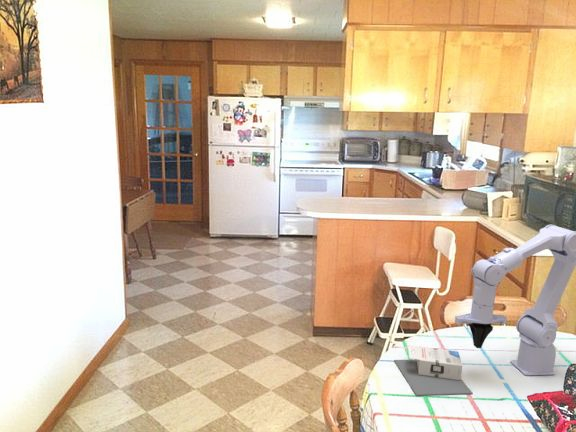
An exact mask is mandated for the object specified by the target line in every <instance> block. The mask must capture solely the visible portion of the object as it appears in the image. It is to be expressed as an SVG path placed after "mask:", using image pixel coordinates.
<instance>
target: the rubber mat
mask: <svg viewBox="0 0 576 432" xmlns="http://www.w3.org/2000/svg"><path fill="white" fill-rule="evenodd" d="M393 362H394V364H395V365H396V366H397V368H398V370H399V372H400V373H401V374H402V376H403V378H404V379H405V381H406V383H407V384H408V385H409V387H410V389H411V391H412V392H413V394H414V395H415V396H416V397H426V396H427V397H428V396H456V395H457V396H458V395H462V396H463V395H473V394H474V393H473V391H472V390H471V389H470V388H469V387H468V386H467V384H466V383H465V382H464V380H462V379H461V380H454V379H447V378H440V377H433V376H426V375H419V374H418V365H417V360H415V359H394V360H393Z"/></svg>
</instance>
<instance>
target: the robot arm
mask: <svg viewBox="0 0 576 432" xmlns="http://www.w3.org/2000/svg"><path fill="white" fill-rule="evenodd" d="M545 250H549V251H550V253H551V254H552V255H553V258H554V261H553V263H552V266H551V268H550V270H549V273H548V274H547V277H546V279H545V281H544V284H543V286H542V288H541V291H540V292H539V294H538V296H537V297H538V298H537V299H536V302H535V304H534V307H531V308H528V309H525V310H524V312H523V314H522V315H521V317H519V318H518V320H517V322H516V325H515V326H516V327H515V329H516V331H517V332H518V333H519V335H518V336H519V337H520V340H519V346H518V347H519V348H518V354H517V359H511V360H510V361H509V362H510V363H511V364H512V365H513V366H514V367H515V368H516V369H518V370H519V371H520V372H521V374H523V375H524V376H552V375H553V376H554V375H555V372H554V369H555V360H556V357H557V352H556V351H557V350H556V347H555V345H554V344H553V343H554V342H555V341H556V338H557V331H558V328H559V323H558V322H557V320H556V319H555V316H554V315H555V313H556V311H557V308H558V305H559V303H560V301H561V299H562V297H563V295H564V293H565V290H566V288H567V286H568V283H569V282H570V279H571V277H572V275H573V273H574V270H575V268H576V230H571V229H568V228H565V227H560V226H557V225H556V224H547V225H545V227H542V228H540V229H539V231H538V234H537V235H535V236H533V237H532V238H530V239H529V240H527V241H526V242H524V243H523V244H521V245H519V246H518V247H516V248H513V247H505V248H503V249H502V251H500V252H498V253H497V254H495V255H492V256H490V257H489V258H487V259H483V258H482V259H479V260H477V261H476V262H475V263H474V264H473V267H471V270H470V273H471V275H472V276H473V283H474V284H473V285H474V286H473V293H472V301H471V309H470V313H466V314H461V315H455V317H454V323H455V324H456V325H458V326H461V325H464V324H465V325H466V324H467V325H468V326H469V329H470V331H471V332H470V333H471V336H472V341H473V342H472V343H473V346H474V347H475V348H476V349H481V348H482V347H483V345H484V342H485V340H486V338H487V337H488V336H489V335H490V334H491V332H492V331H493V330H494V326H493V325H492V324H501V325H506V324H507V322H508V318H507V316H505V315H504V314H494V307H495V300H496V294H497V286H498V284H500V283H501V282H502V280H503V278H504V277H506V275H507V274H508V273H510V272H512V271H514V270H515V269H517V268H519V267H521V266H522V265H523V262H524V260H525V259H527V258H529V257H531V256H533V255H536V254H538V253H540V252H542V251H545Z"/></svg>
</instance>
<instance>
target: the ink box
mask: <svg viewBox="0 0 576 432" xmlns="http://www.w3.org/2000/svg"><path fill="white" fill-rule="evenodd" d="M407 348H408V349H407V350H408V359H409V360H417V365H418V374H419V375H426V376H433V377H440V378H447V379H454V380H462V373H463V363H462V359H461V356H460V353H459V351H455V350H448V349H441V348H432V347H428V346H427V347H426V346H420V345H419V346H418V345H408V346H407ZM413 351H414V353H413Z"/></svg>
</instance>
